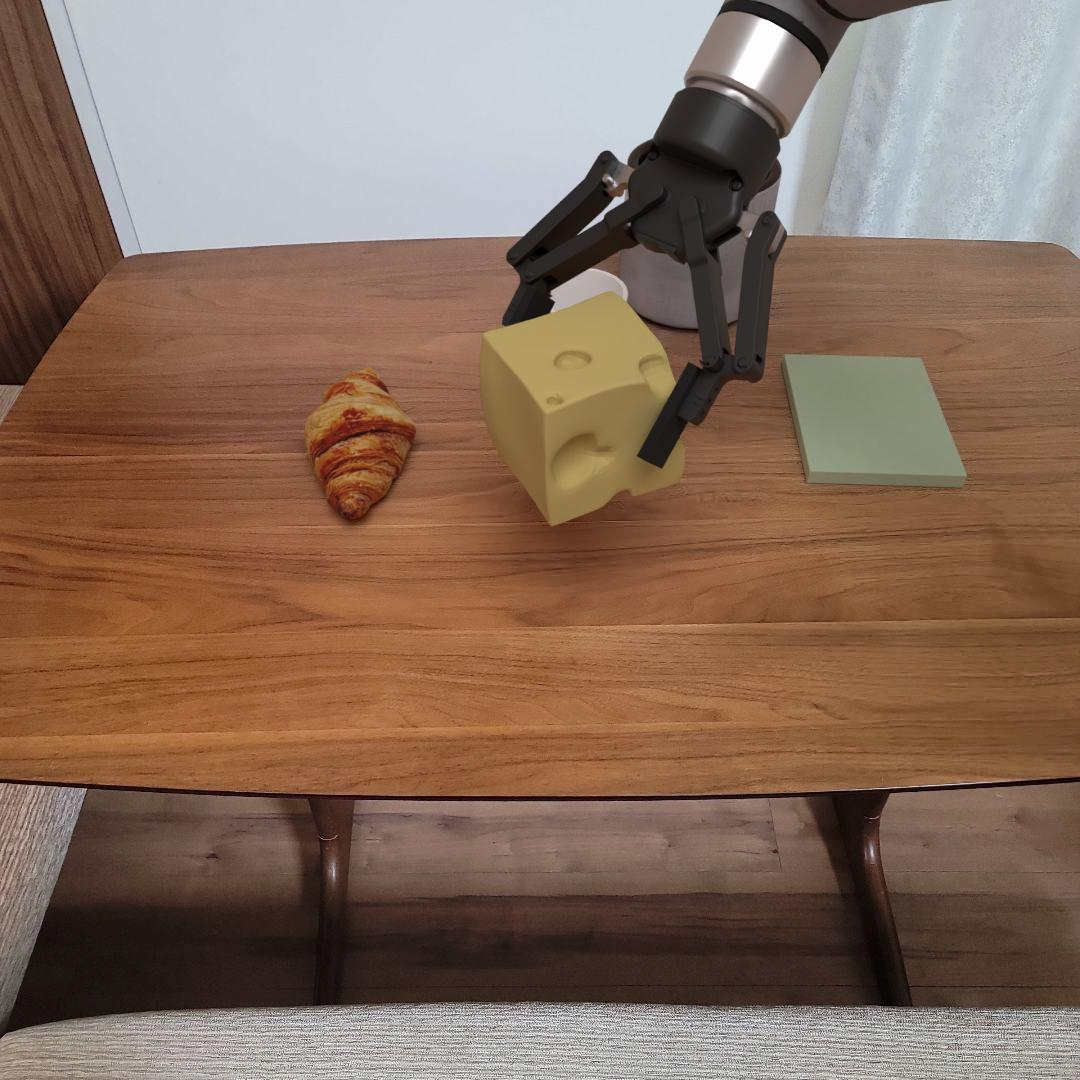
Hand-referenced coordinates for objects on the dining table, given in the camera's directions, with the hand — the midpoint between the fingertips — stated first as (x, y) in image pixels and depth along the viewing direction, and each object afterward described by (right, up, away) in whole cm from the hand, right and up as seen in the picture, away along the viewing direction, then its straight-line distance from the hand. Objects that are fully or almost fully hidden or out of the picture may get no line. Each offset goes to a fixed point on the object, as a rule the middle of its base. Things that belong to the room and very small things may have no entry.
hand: (569, 419), depth 61 cm
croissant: (-18, 0, +26) cm, 32 cm away
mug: (+1, +9, +34) cm, 35 cm away
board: (+30, +3, +29) cm, 42 cm away
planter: (+15, +20, +45) cm, 51 cm away
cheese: (+1, -3, +4) cm, 5 cm away
